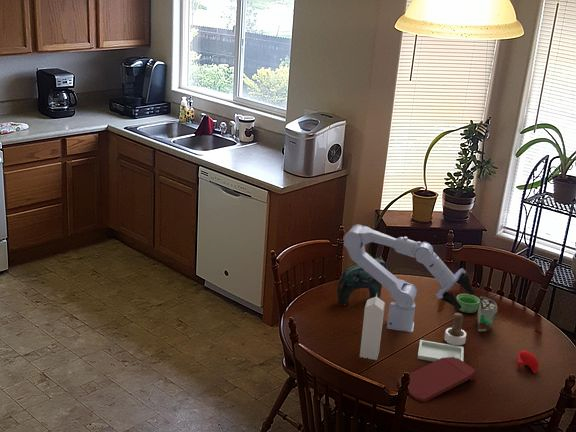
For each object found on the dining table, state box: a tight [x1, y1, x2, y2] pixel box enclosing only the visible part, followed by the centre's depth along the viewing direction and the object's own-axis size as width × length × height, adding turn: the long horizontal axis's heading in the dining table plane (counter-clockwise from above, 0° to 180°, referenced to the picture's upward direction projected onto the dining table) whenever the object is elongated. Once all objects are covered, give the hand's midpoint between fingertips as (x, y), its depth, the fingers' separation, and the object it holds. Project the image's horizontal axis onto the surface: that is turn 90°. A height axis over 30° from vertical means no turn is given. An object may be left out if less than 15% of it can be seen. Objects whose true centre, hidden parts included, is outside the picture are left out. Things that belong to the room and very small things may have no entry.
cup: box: [444, 327, 467, 346], centre depth 251 cm, size 7×7×4 cm
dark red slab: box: [397, 357, 476, 403], centre depth 225 cm, size 12×5×25 cm
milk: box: [359, 294, 386, 361], centre depth 236 cm, size 6×6×22 cm
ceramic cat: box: [336, 253, 387, 306], centre depth 274 cm, size 20×6×20 cm, turn 114°
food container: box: [476, 295, 498, 333], centre depth 261 cm, size 12×6×10 cm, turn 168°
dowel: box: [451, 312, 464, 337], centre depth 250 cm, size 3×3×10 cm
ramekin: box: [455, 293, 480, 314], centre depth 276 cm, size 9×9×4 cm
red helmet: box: [515, 350, 539, 374], centre depth 236 cm, size 8×6×6 cm
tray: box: [417, 339, 465, 363], centre depth 241 cm, size 15×11×2 cm
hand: (466, 301), depth 248 cm, fingers open, 7 cm apart
